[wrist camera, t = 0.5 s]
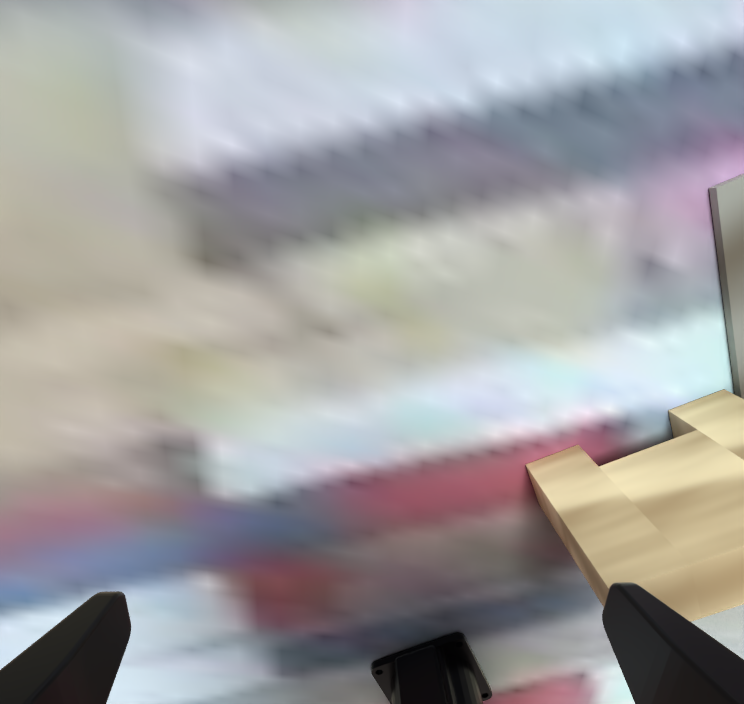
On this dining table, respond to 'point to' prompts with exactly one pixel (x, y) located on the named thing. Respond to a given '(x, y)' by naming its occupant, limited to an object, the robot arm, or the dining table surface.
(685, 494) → the birch plate
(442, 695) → the robot arm
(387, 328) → the dining table surface
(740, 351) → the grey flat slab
